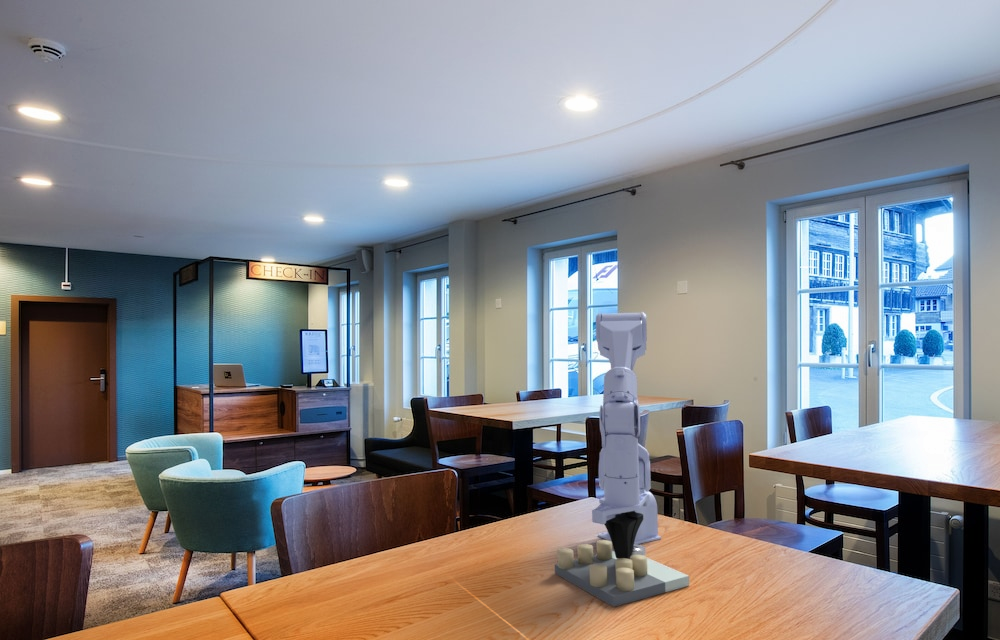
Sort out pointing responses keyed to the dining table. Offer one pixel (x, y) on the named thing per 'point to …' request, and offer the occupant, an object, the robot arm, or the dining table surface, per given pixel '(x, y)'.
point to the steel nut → (638, 550)
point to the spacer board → (611, 590)
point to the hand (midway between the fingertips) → (623, 558)
